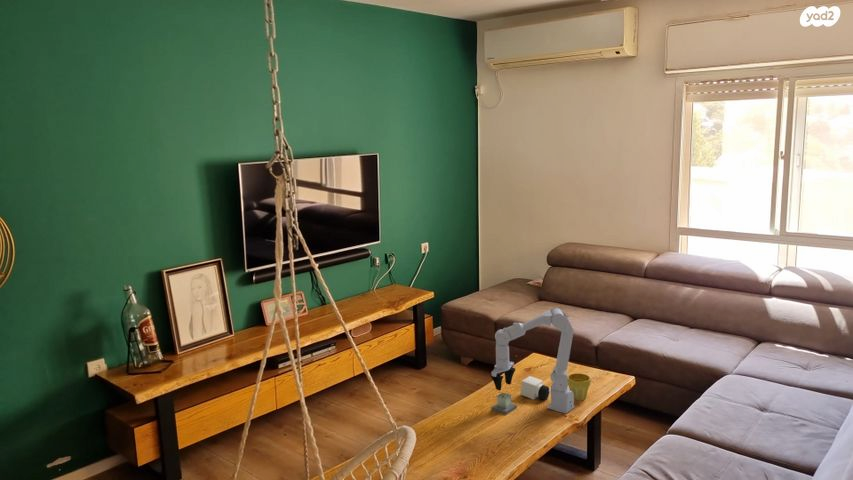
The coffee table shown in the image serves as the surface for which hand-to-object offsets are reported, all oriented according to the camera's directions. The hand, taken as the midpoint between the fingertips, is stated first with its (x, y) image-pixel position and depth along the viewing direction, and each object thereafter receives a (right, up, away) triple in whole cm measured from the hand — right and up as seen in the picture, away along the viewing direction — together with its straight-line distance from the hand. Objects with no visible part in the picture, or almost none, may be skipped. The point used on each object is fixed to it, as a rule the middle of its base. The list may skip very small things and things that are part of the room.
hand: (503, 386), depth 286 cm
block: (+1, -11, +2) cm, 11 cm away
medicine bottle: (+12, -3, +16) cm, 20 cm away
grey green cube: (+1, -9, +2) cm, 9 cm away
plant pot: (+35, -7, +10) cm, 37 cm away
